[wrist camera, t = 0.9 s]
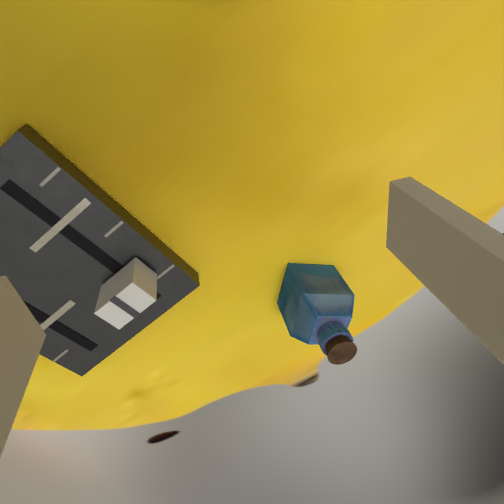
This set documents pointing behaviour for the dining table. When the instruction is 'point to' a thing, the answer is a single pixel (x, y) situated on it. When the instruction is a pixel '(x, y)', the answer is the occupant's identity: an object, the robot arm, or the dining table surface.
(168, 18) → the dining table surface
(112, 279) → the fader
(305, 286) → the perfume bottle
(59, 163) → the console
